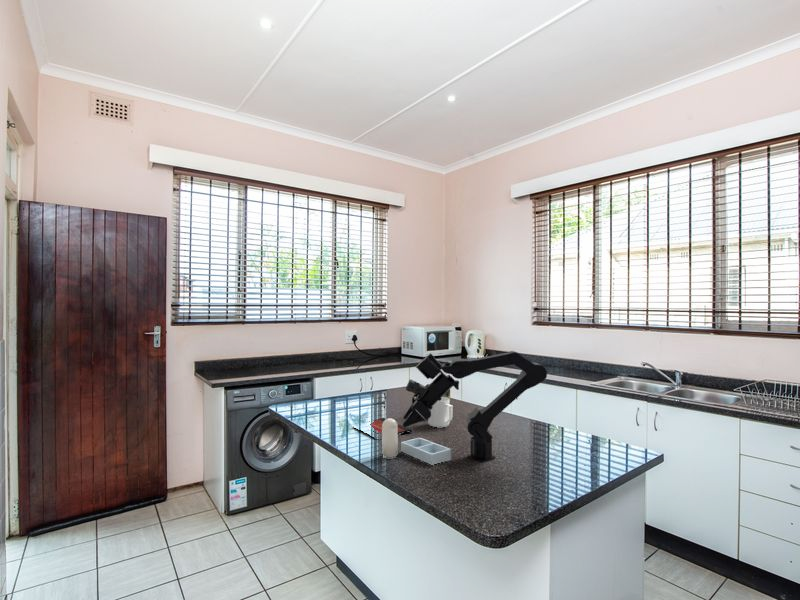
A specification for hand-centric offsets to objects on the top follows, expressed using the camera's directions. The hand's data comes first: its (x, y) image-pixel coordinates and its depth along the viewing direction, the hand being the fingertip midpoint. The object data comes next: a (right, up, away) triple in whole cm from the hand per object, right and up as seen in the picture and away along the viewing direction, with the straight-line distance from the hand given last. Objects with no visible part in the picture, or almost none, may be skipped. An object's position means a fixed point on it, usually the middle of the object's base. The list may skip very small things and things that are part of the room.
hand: (403, 422), depth 142 cm
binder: (-9, -13, +30) cm, 34 cm away
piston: (+16, -12, +53) cm, 57 cm away
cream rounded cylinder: (-5, -11, 0) cm, 12 cm away
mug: (+16, -12, +36) cm, 41 cm away
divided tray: (+7, -11, 0) cm, 13 cm away
